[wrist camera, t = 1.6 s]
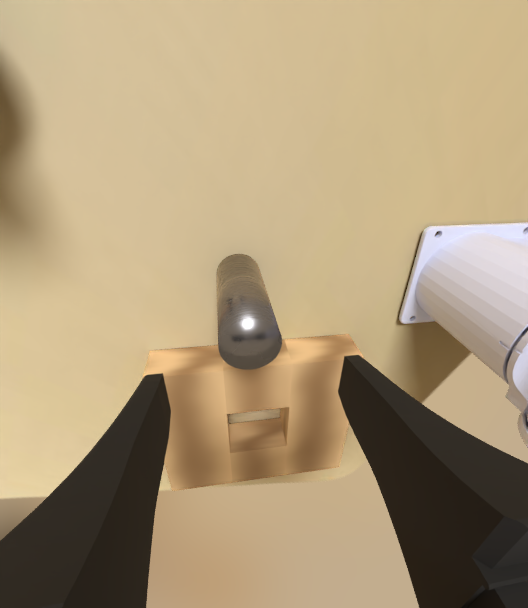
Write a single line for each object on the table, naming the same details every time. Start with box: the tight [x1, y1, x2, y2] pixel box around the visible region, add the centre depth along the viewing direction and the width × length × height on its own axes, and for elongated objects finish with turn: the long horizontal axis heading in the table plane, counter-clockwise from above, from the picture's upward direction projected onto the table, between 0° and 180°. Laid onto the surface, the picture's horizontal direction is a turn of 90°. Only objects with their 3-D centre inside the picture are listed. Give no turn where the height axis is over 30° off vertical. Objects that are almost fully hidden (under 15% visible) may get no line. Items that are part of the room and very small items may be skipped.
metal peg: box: [217, 254, 282, 370], centre depth 17 cm, size 3×3×8 cm
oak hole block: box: [142, 334, 364, 491], centre depth 26 cm, size 16×14×3 cm
